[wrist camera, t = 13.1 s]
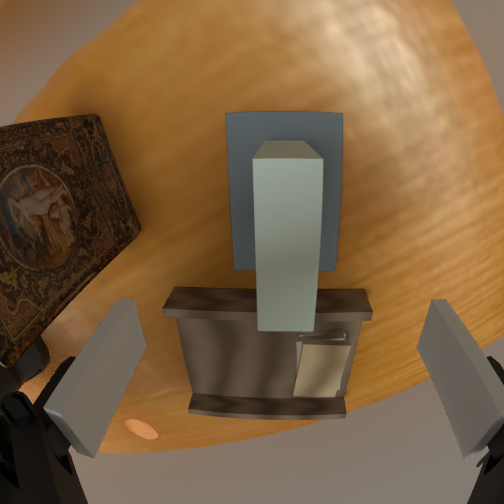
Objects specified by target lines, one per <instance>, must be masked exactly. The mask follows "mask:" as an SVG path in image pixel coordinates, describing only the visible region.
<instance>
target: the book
mask: <svg viewBox="0 0 504 504" xmlns="http://www.w3.org/2000/svg"><path fill="white" fill-rule="evenodd" d="M139 233H140V225H139V223H138V220H137V218H136V215H135V212H134V210H133V207H132V204H131V202H130V199H129V197H128V194H127V192H126V189H125V187H124V184H123V182H122V179H121V176H120V174H119V171H118V168H117V166H116V163H115V160H114V157H113V155H112V152H111V149H110V146H109V143H108V140H107V137H106V134H105V132H104V129H103V126H102V123H101V119H100V117H99V116H97V115H80V116H70V117H61V118H52V119H45V120H37V121H31V122H24V123H18V124H13V125H7V126H2V127H0V364H1V365H2V366H4V367H11V366H13V365H14V364H15V363H16V362H17V361H18V360H19V359H20V358H21V357H22V356H23V354H24V353H25V352H26V351H27V350H28V349H29V347H30V346H31V345H32V344H33V343H34V342H35V341H36V339H37V338H38V337H39V336H40V335H41V334H42V333H43V331H44V330H45V329H46V328H47V327H48V326H49V325H50V324H51V323H52V322H53V320H54V319H55V318H56V317H57V316H58V315H59V314H60V313H61V312H62V311H63V310H64V309H65V308H66V306H67V305H68V304H69V303H70V302H71V301H72V300H73V299H74V298H75V297H76V296H77V295H78V294H79V293H80V292H81V291H82V290H83V289H84V288H85V287H86V286H87V285H88V284H89V283H90V282H91V281H92V280H93V279H94V278H95V277H96V276H97V275H98V274H99V273H100V272H101V271H102V270H103V269H104V268H105V267H106V266H107V265H108V264H109V263H110V262H111V261H112V260H113V259H114V258H115V257H116V256H117V255H118V254H119V253H120V252H121V251H123V250H124V249H125V248H126V247H127V246H128V245H129V244H130V243H131V242H132V241H133V240H134V239H135V238H136V237H137V236H138V234H139Z"/></svg>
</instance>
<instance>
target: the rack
mask: <svg viewBox="0 0 504 504" xmlns="http://www.w3.org/2000/svg"><path fill="white" fill-rule="evenodd" d="M162 309H163V313H164V317H175V318H176V320H177V325H178V330H179V335H180V339H181V344H182V349H183V353H184V358H185V362H186V366H187V370H188V375H189V379H190V383H191V387H192V391H193V394H192V398H191V401H190V404H189V408H188V410H189V413H190V414H198V415H208V416H218V417H230V418H246V419H269V420H315V419H339V418H345V417H346V407H345V401H344V395H345V391H346V387H347V383H348V379H349V375H350V371H351V367H352V363H353V359H354V354H355V350H356V345H357V341H358V336H359V331H360V326H361V321H369V320H371V318H372V314H373V311H372V308H371V306H370V303H369V301H368V299H367V296H366V294H365V291H364V289H317V297H316V309H315V319H314V329H313V330H345V331H346V339H345V341H350V343H351V348H350V352H349V355H348V358H347V361H346V365H345V368H344V371H343V374H342V377H341V383H340V390H337V392H336V395H335V397H306V396H293V389H294V384H295V378H296V367H297V346H296V337H299V331H258V321H257V289H231V288H195V287H174V289H173V291H172V292H171V294H170V296H169V298H168V299H167V301H166V303H165V305H164V306H163V308H162Z"/></svg>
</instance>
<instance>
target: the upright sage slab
mask: <svg viewBox="0 0 504 504" xmlns="http://www.w3.org/2000/svg"><path fill="white" fill-rule="evenodd" d="M253 188H254V220H255V253H256V287H257V321H258V331H313V329H314V319H315V309H316V297H317V285H318V271H319V257H320V240H321V220H322V194H323V158H322V157H321V156H320V155H319V154H318V153H317V152H315V151H314V150H313V149H312V148H311V147H310V146H309V145H308V144H307V143H306V142H305V141H304V140H265V141H264V142H263V144H262V145H261V147H260V148H259V150H258V151H257V153H256V154H255V156H254V157H253Z"/></svg>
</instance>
